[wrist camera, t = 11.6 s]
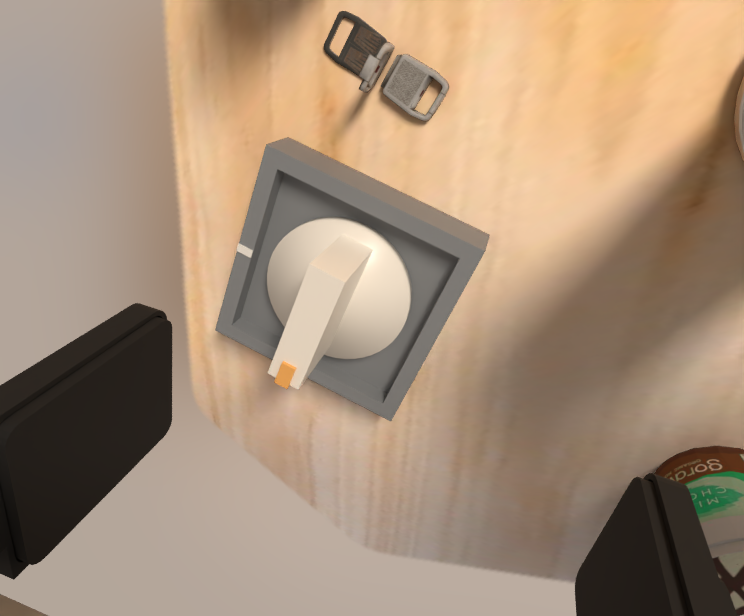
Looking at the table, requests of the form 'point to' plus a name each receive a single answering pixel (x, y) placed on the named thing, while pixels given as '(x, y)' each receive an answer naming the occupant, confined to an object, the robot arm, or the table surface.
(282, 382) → the dial
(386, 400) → the dial plate
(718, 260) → the table surface
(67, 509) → the robot arm
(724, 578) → the food container
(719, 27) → the table surface
